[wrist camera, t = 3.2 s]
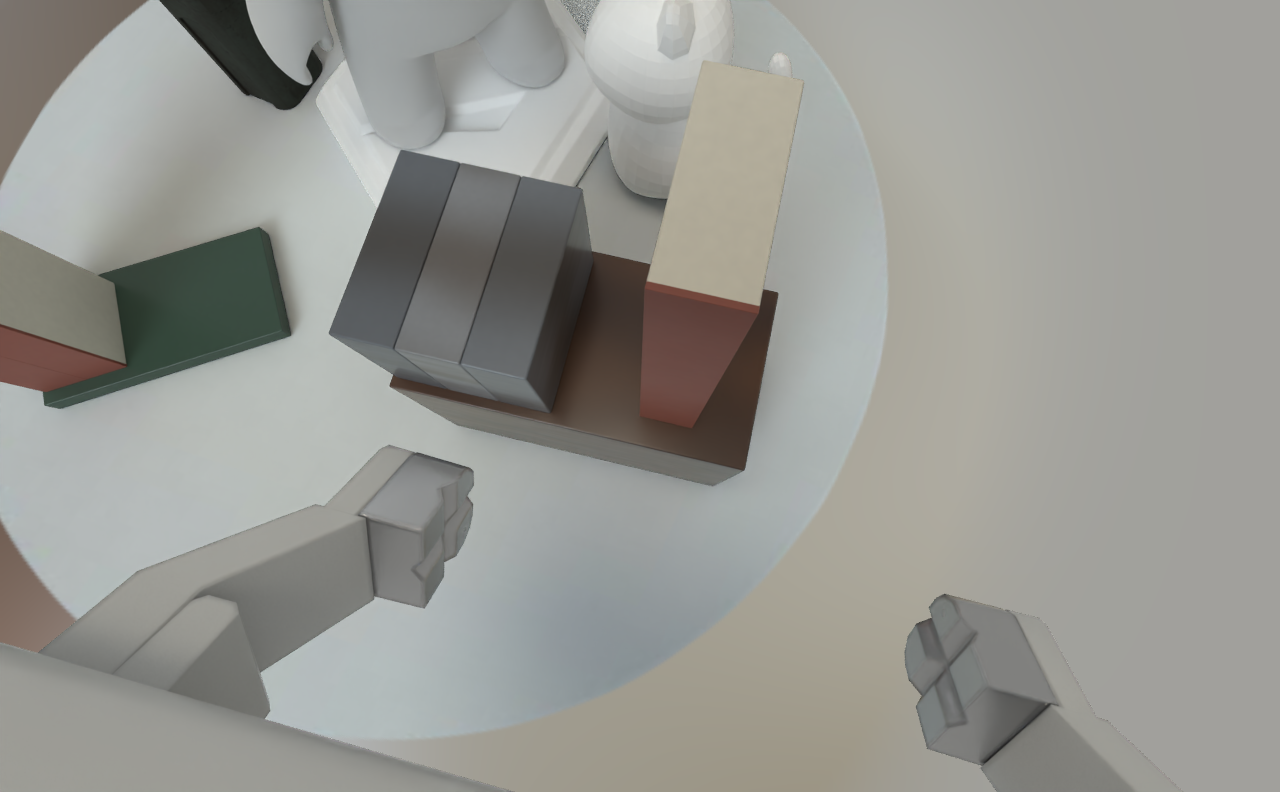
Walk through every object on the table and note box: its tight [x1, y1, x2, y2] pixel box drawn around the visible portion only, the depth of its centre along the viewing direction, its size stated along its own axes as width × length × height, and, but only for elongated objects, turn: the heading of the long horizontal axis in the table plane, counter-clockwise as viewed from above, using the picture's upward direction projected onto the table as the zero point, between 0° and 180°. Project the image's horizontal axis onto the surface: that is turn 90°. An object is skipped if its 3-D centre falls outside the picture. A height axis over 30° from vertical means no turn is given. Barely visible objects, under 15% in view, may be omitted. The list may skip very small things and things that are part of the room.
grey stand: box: [329, 150, 778, 486], centre depth 28 cm, size 9×17×16 cm, turn 77°
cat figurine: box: [584, 0, 792, 199], centre depth 33 cm, size 9×12×15 cm
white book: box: [639, 60, 804, 428], centre depth 19 cm, size 6×2×14 cm, turn 167°
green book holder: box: [0, 227, 291, 409], centre depth 30 cm, size 8×15×15 cm, turn 110°
